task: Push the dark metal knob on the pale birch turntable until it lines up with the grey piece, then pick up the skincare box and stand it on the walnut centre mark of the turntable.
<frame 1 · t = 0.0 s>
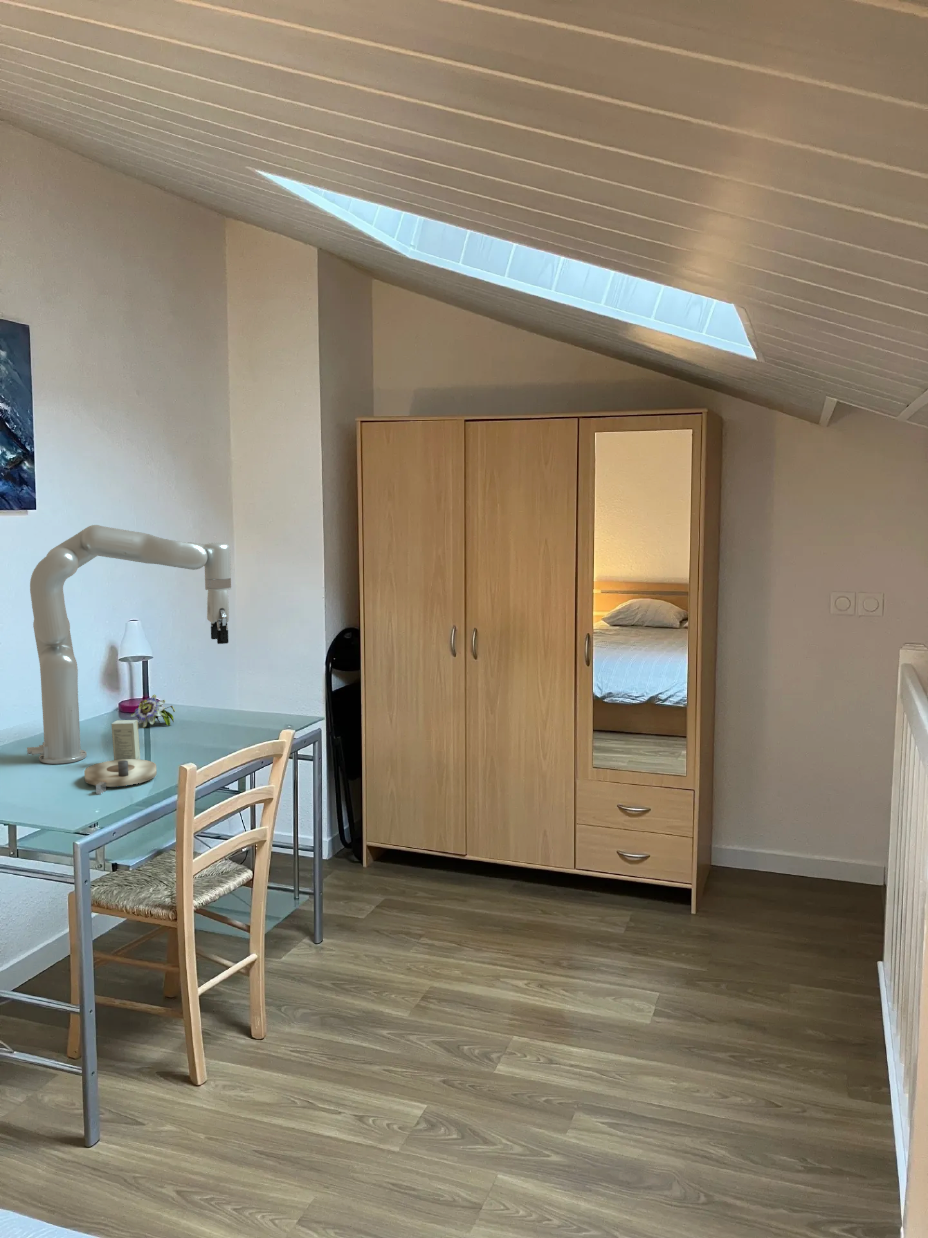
hand: (219, 641, 295), 31 cm above the table, tool pointing down, fingers open, 9 cm apart
grey piece: (101, 792, 249), on the table
turntable base: (121, 779, 261), on the table
passion flower: (153, 725, 321), on the table
skincare box: (127, 764, 275), on the table
turntable: (120, 765, 260), point 4 cm above the table, hinge at 0.0°
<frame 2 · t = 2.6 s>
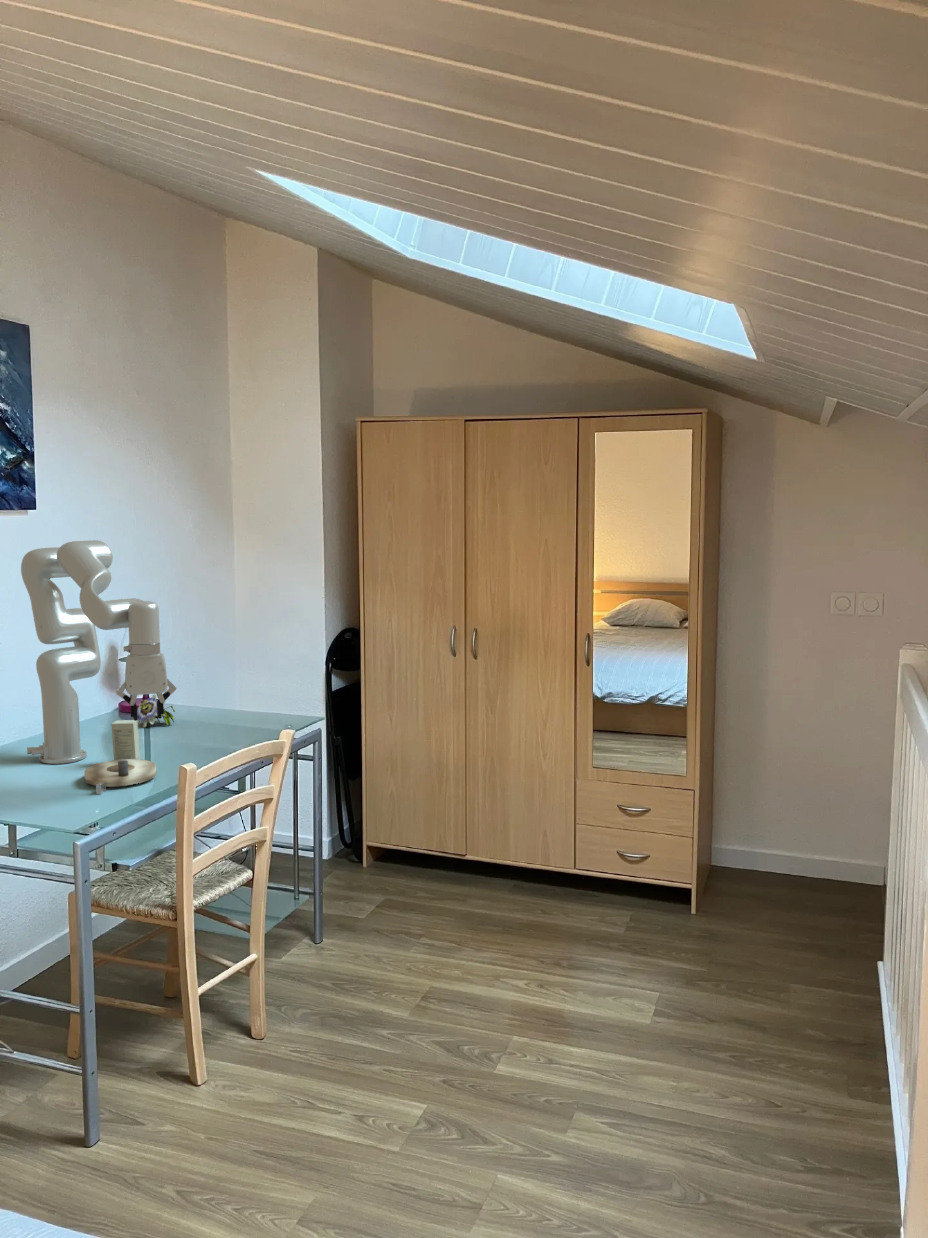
hand: (147, 717, 255), 17 cm above the table, tool pointing down, fingers open, 5 cm apart
nothing on the table moved.
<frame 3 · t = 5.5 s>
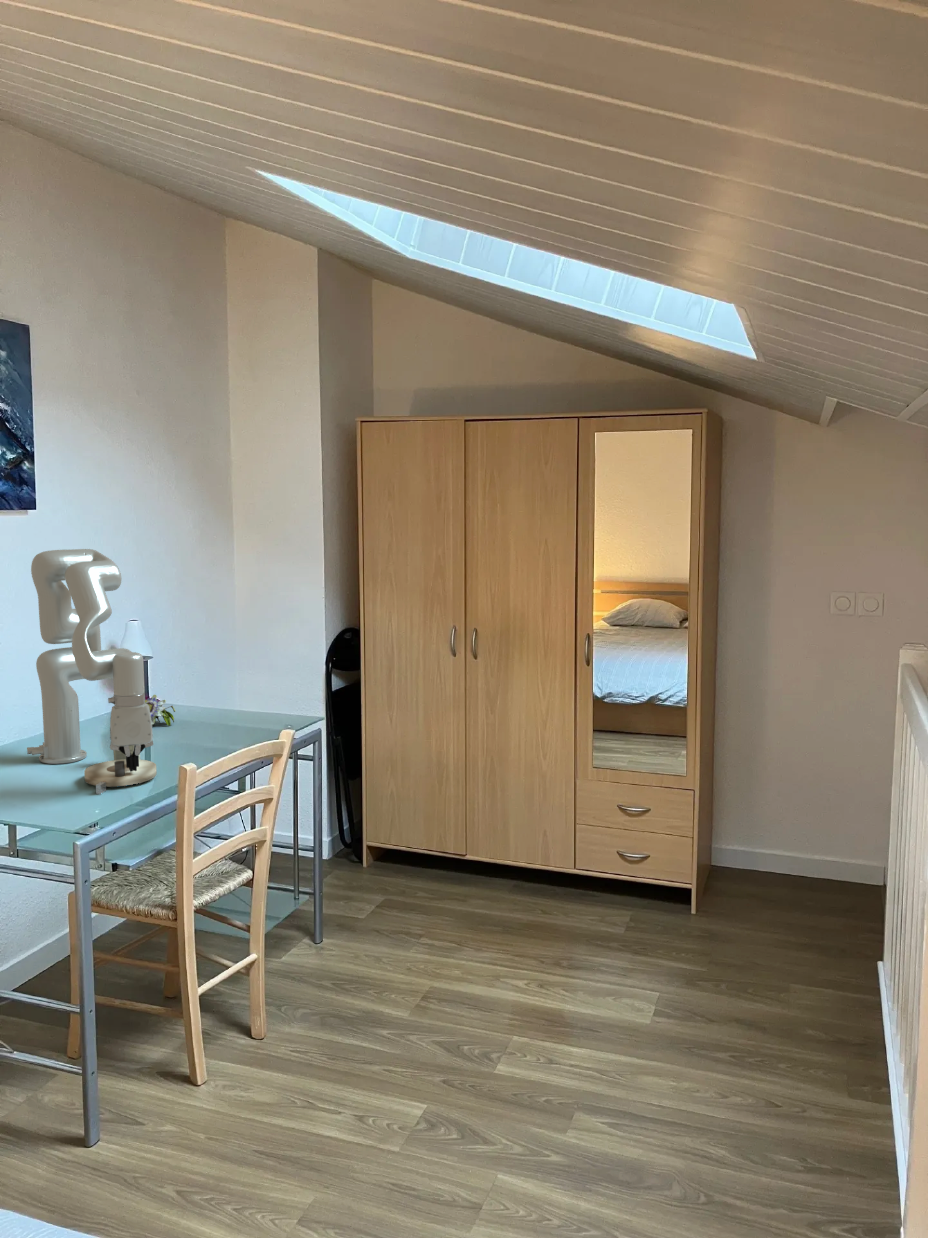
hand: (132, 769, 255), 4 cm above the table, tool pointing down, fingers closed
turntable: (120, 765, 260), point 4 cm above the table, hinge at -7.2°, touching gripper
everything else where it was.
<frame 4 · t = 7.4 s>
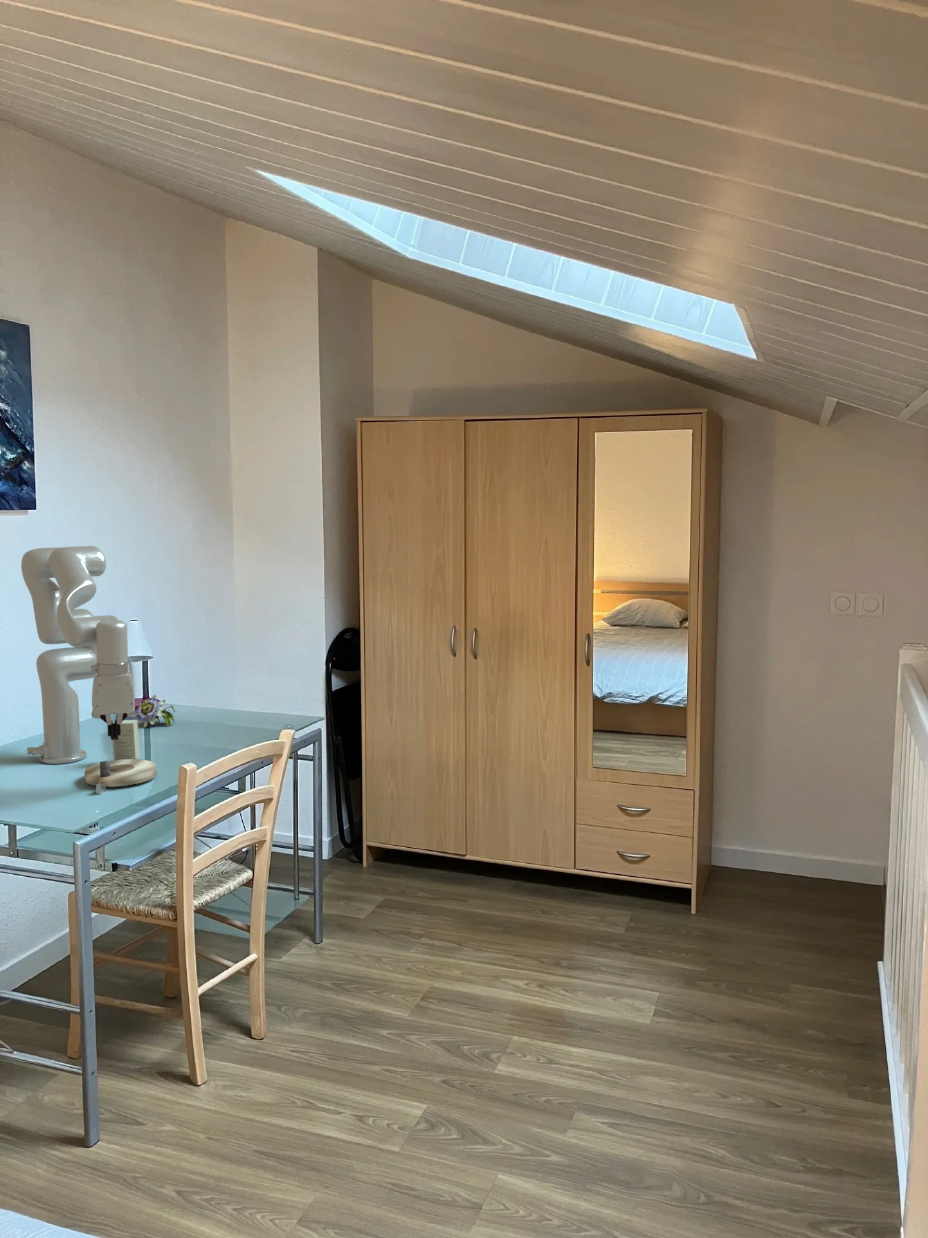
hand: (114, 738, 253), 13 cm above the table, tool pointing down, fingers closed
turntable: (120, 765, 260), point 4 cm above the table, hinge at -38.0°
everything else where it was.
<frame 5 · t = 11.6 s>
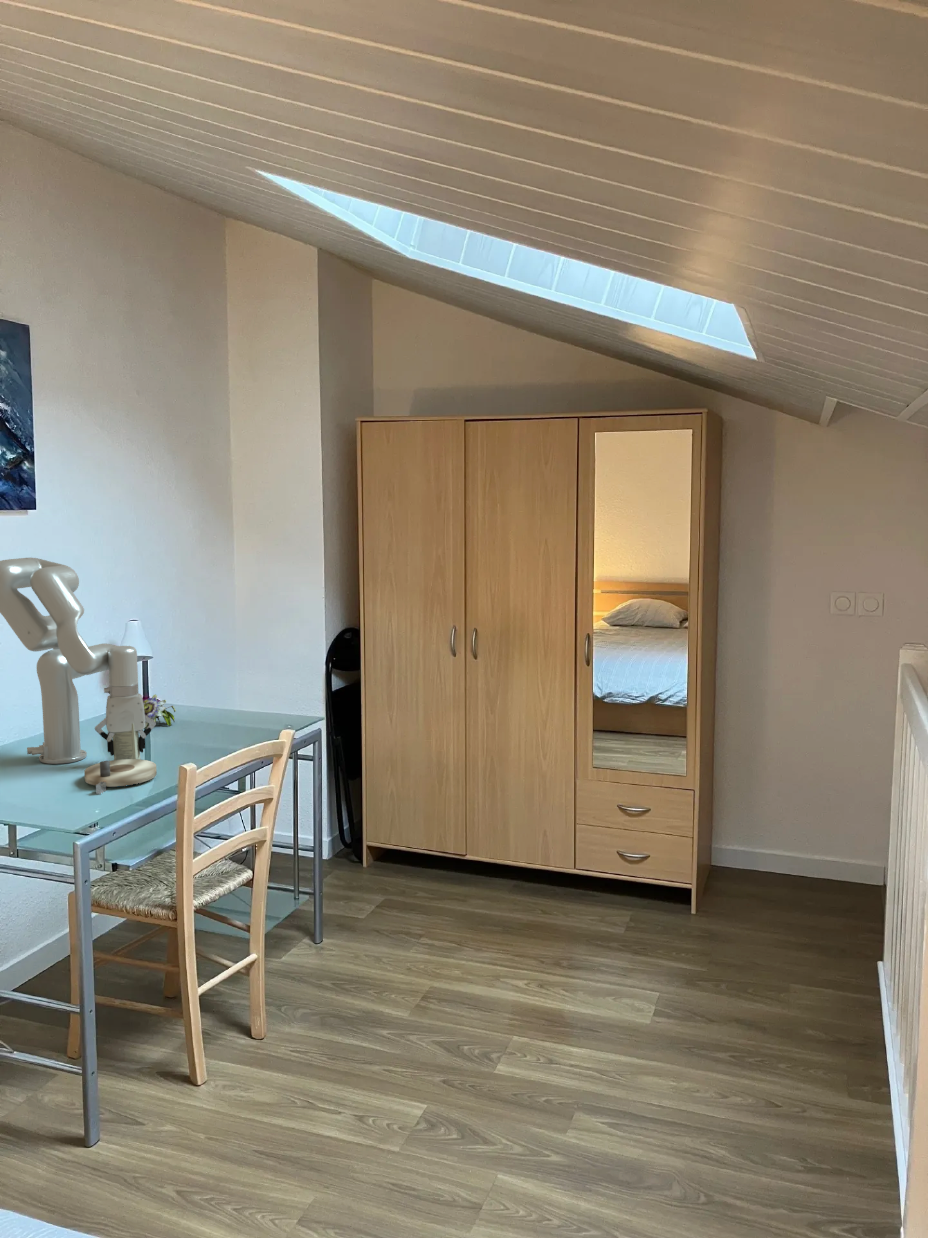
hand: (126, 752, 275), 3 cm above the table, tool pointing down, fingers closed on skincare box, 7 cm apart
skincare box: (127, 764, 275), on the table, touching gripper
everything else where it was.
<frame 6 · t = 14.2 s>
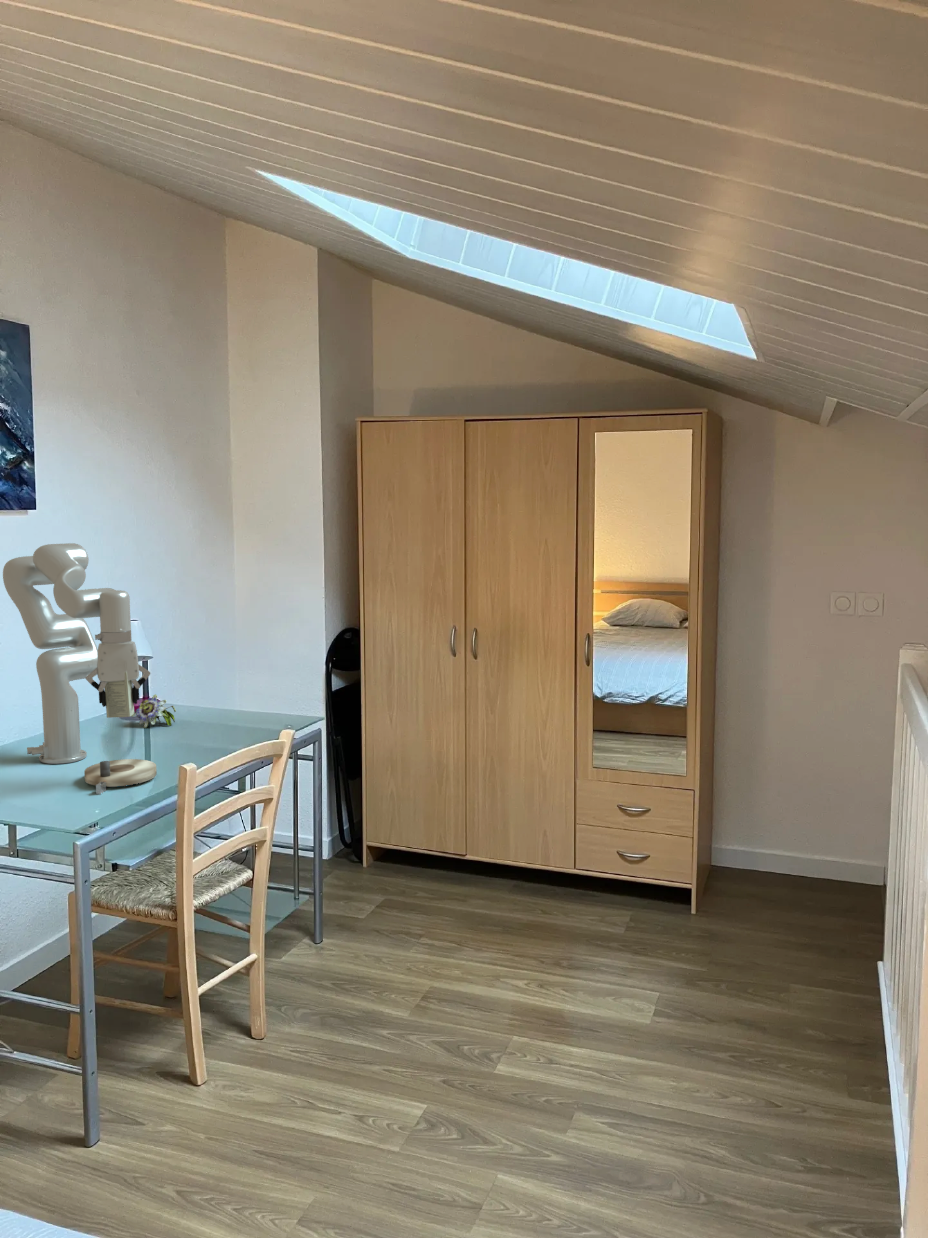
hand: (119, 703, 259), 20 cm above the table, tool pointing down, fingers closed on skincare box, 7 cm apart
skincare box: (120, 716, 260), point 17 cm above the table, touching gripper
everything else where it was.
when the fingers open (8 cm above the table, at t = 17.2 s): skincare box drops 1 cm, resting on turntable.
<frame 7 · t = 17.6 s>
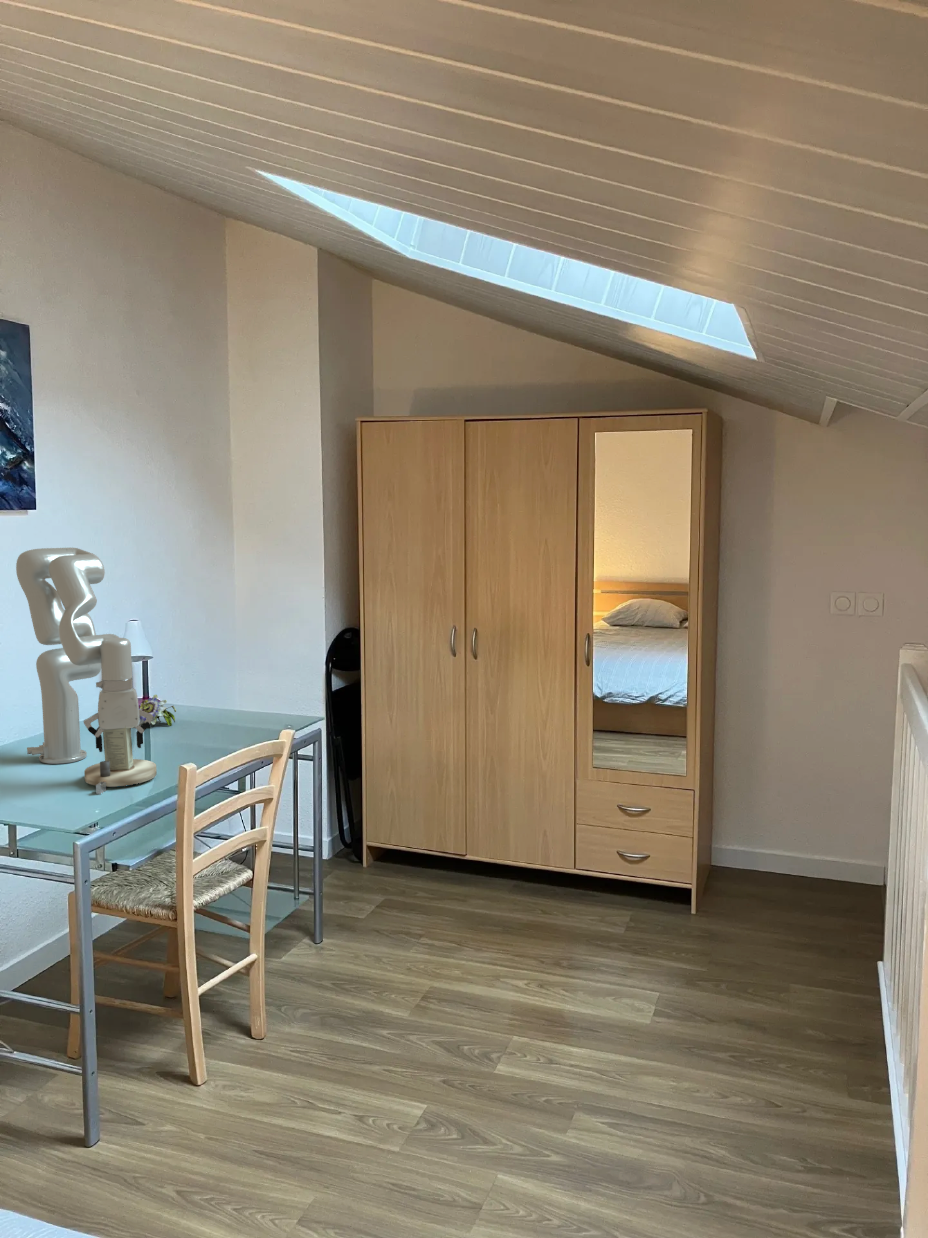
hand: (119, 748, 260), 8 cm above the table, tool pointing down, fingers open, 9 cm apart
skincare box: (119, 768, 260), point 3 cm above the table, touching turntable
turntable: (120, 765, 260), point 4 cm above the table, hinge at -38.0°, touching skincare box
everything else where it was.
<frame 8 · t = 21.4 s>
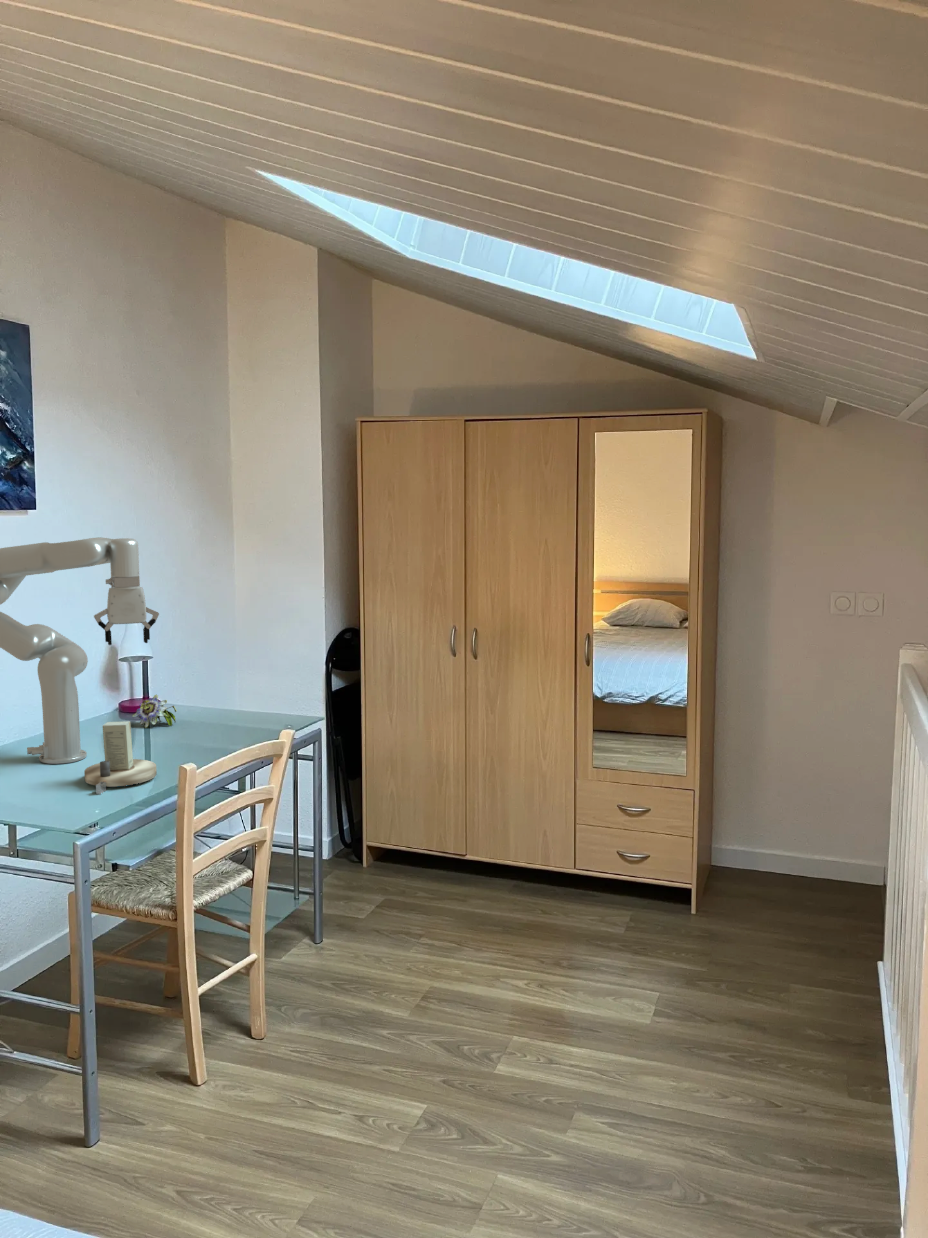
hand: (127, 643, 276), 33 cm above the table, tool pointing down, fingers open, 9 cm apart
nothing on the table moved.
at the end: turntable at -38° (first picture: +0°); skincare box 0.4 cm from the turntable (horizontally); skincare box tilted 0° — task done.
